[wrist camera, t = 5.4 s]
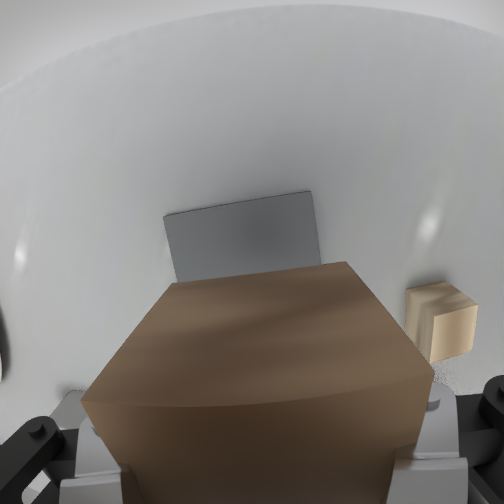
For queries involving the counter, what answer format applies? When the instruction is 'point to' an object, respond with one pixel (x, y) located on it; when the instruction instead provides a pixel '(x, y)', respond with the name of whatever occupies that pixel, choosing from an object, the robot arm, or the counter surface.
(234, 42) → the counter surface
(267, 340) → the walnut block
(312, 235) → the build mat
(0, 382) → the dinner plate
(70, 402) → the lumpy-topped squat cylinder
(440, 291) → the maple block
